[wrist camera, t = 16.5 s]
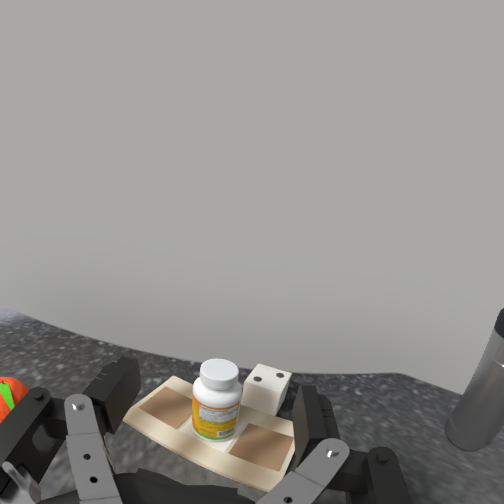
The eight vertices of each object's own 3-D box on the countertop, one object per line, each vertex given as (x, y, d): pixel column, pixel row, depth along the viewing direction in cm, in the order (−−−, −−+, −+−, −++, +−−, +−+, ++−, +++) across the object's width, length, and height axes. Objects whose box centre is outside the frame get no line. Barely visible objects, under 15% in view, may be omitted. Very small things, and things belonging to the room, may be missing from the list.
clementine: (56, 440, 19) (38, 398, 18) (13, 456, 14) (-14, 414, 12) (33, 401, 23) (18, 359, 22) (-6, 413, 18) (-25, 370, 16)
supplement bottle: (200, 408, 32) (204, 350, 30) (240, 419, 31) (250, 361, 29) (185, 435, 27) (185, 375, 25) (229, 448, 26) (238, 390, 24)
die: (284, 398, 37) (291, 372, 36) (274, 419, 32) (281, 392, 31) (253, 388, 39) (258, 362, 38) (240, 407, 34) (244, 380, 33)
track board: (303, 427, 31) (305, 424, 31) (274, 494, 20) (276, 491, 20) (173, 378, 38) (173, 375, 38) (120, 418, 27) (119, 415, 27)
